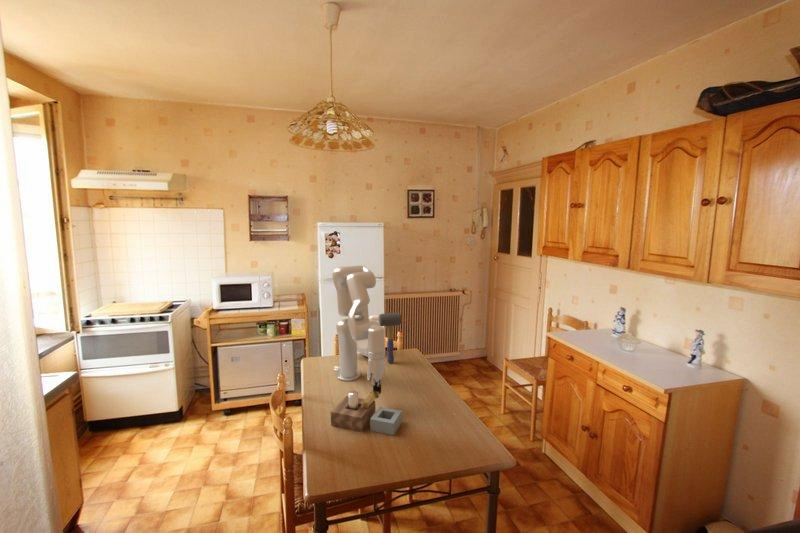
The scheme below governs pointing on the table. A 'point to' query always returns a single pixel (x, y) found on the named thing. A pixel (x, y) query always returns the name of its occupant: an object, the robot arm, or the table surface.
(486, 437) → the table surface
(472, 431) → the table surface
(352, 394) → the steel peg
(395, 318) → the rubber mallet
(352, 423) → the socket block
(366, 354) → the decorative rooster
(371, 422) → the grey square ring block
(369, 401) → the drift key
